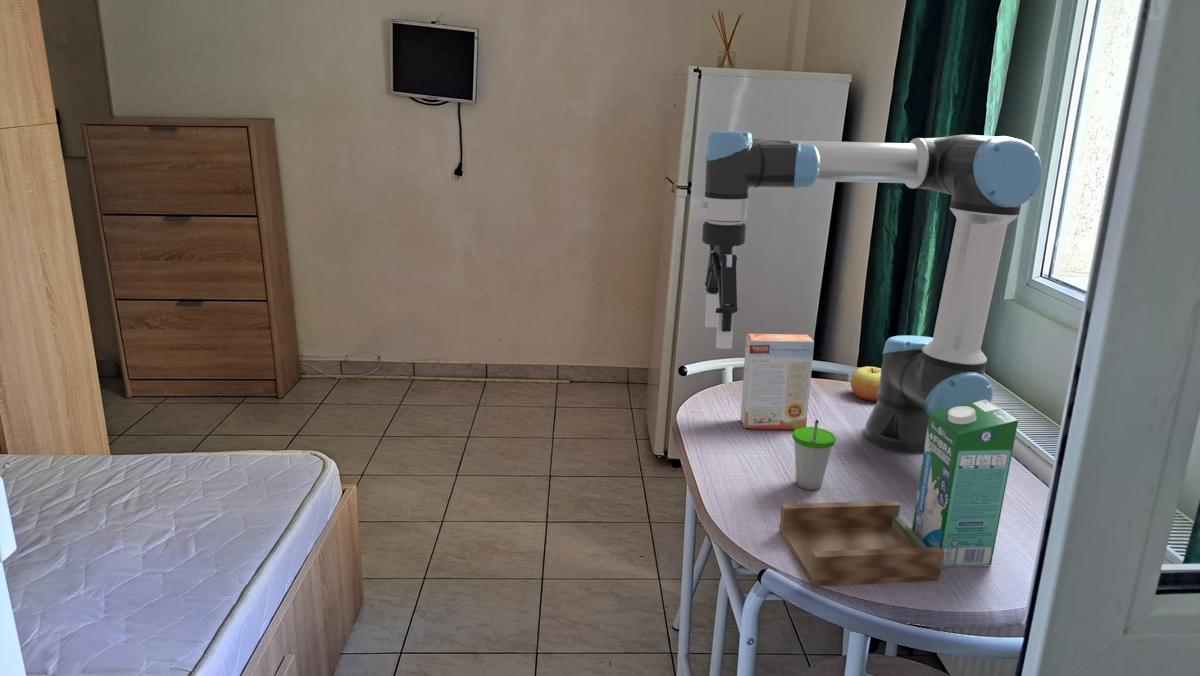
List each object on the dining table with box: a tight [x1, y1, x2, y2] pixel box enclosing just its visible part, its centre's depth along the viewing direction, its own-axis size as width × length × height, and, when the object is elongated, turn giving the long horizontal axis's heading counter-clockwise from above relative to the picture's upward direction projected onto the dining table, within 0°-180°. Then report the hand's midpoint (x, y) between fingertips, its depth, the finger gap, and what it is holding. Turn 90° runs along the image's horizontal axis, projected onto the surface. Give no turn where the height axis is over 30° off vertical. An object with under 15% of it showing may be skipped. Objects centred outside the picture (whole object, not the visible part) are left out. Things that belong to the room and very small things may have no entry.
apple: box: [850, 366, 882, 402], centre depth 194 cm, size 10×10×8 cm
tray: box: [778, 500, 945, 587], centre depth 125 cm, size 20×16×5 cm
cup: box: [791, 419, 837, 491], centre depth 147 cm, size 8×8×15 cm
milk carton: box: [911, 399, 1019, 568], centre depth 124 cm, size 9×9×25 cm
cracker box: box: [740, 333, 815, 431], centre depth 174 cm, size 14×6×21 cm, turn 89°
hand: (717, 337), depth 144 cm, fingers open, 13 cm apart
